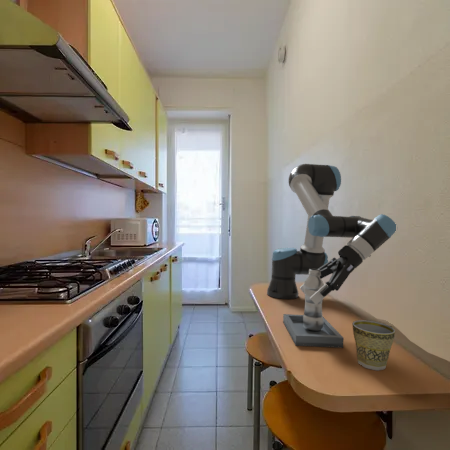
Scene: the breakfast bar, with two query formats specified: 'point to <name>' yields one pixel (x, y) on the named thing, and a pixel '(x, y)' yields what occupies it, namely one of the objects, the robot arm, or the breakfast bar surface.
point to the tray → (312, 333)
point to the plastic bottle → (313, 311)
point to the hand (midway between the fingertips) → (306, 295)
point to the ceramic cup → (373, 343)
